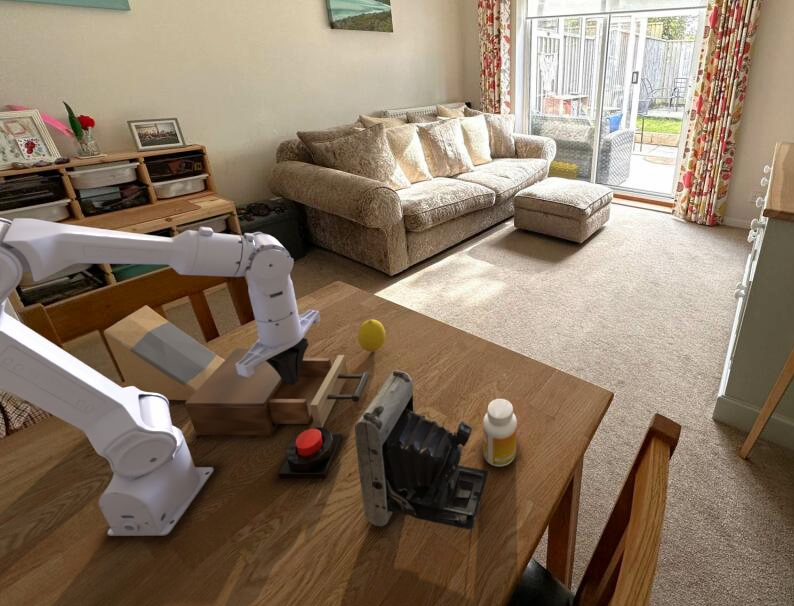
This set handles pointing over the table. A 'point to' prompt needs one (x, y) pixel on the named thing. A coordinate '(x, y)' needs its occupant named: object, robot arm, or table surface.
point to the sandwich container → (159, 355)
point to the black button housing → (311, 458)
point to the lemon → (371, 335)
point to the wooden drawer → (313, 392)
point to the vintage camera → (413, 462)
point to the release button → (309, 442)
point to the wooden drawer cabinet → (234, 400)
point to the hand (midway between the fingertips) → (291, 381)
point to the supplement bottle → (499, 433)
